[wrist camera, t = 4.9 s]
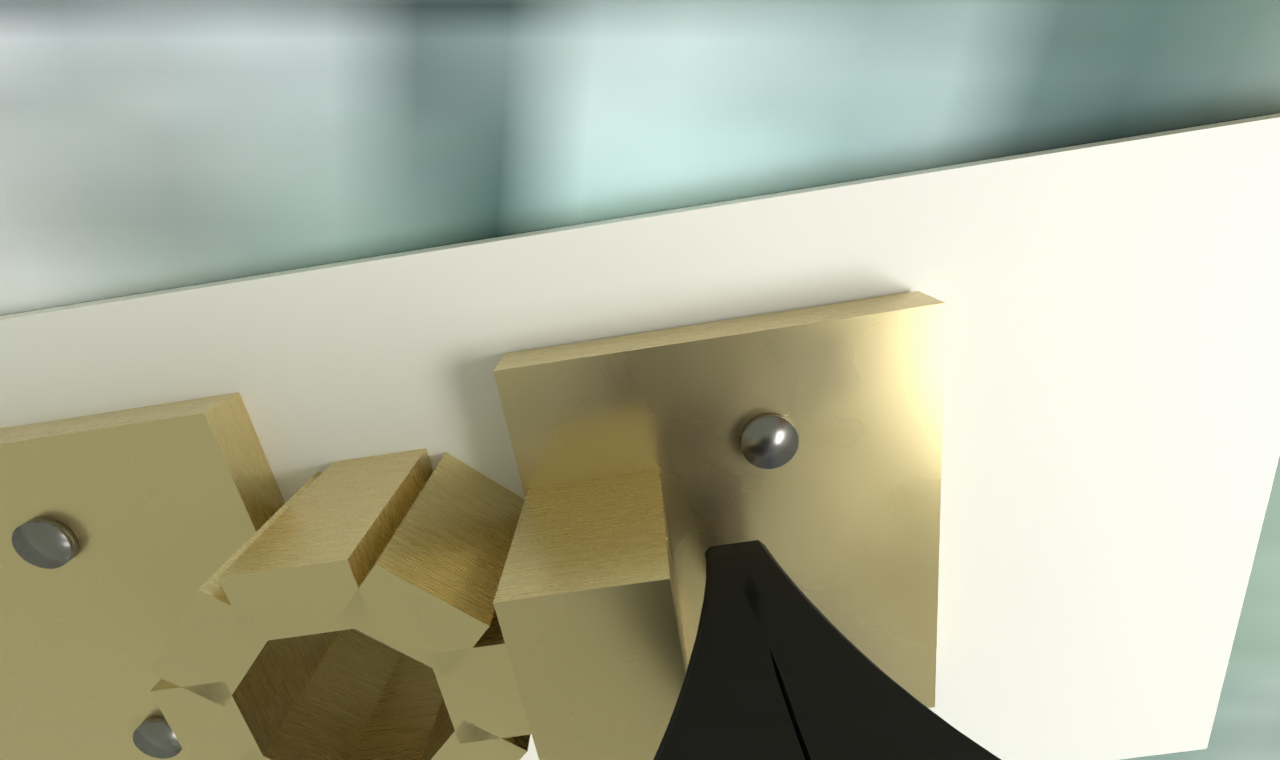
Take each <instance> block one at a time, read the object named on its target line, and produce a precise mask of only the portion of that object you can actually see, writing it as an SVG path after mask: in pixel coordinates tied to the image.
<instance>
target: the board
mask: <svg viewBox="0 0 1280 760" xmlns="http://www.w3.org/2000/svg"><path fill="white" fill-rule="evenodd" d="M913 291H920V292H922V293H924V294H927V295H929V296H931V297H934V298H936V299H938V300H940V301H943V302H945V303H946V325H945V361H944V397H943V433H942V469H941V506H940V542H939V578H938V614H937V650H936V686H935V707H932V708H929V709H930V710H932V711H933V712H934V713H935V714H937V715H938V716H939V717H941V718H942V719H943V720H945V721H946V722H947V723H949V724H950V725H951V726H953V727H954V728H955V729H957V730H958V731H960V732H961V733H963V734H964V735H966V736H967V737H968V738H970V739H971V740H973V741H974V742H976V743H977V744H979V745H980V746H982V747H983V748H985V749H986V750H988V751H989V752H991V753H992V754H994V755H995V756H997V757H998V758H999V759H1001V760H1119V759H1127V758H1135V757H1143V756H1151V755H1159V754H1167V753H1175V752H1183V751H1192V750H1200V749H1207V746H1208V742H1209V738H1210V734H1211V730H1212V726H1213V722H1214V718H1215V714H1216V710H1217V706H1218V702H1219V698H1220V694H1221V690H1222V686H1223V681H1224V677H1225V673H1226V669H1227V665H1228V661H1229V657H1230V653H1231V649H1232V645H1233V641H1234V637H1235V633H1236V629H1237V625H1238V621H1239V617H1240V613H1241V609H1242V605H1243V601H1244V597H1245V593H1246V589H1247V585H1248V581H1249V577H1250V573H1251V569H1252V565H1253V561H1254V557H1255V553H1256V549H1257V545H1258V540H1259V536H1260V532H1261V528H1262V524H1263V520H1264V516H1265V512H1266V508H1267V504H1268V500H1269V496H1270V492H1271V488H1272V484H1273V480H1274V476H1275V472H1276V468H1277V464H1278V460H1279V456H1280V113H1278V114H1272V115H1266V116H1259V117H1253V118H1247V119H1240V120H1234V121H1228V122H1221V123H1215V124H1209V125H1202V126H1196V127H1190V128H1184V129H1177V130H1171V131H1165V132H1158V133H1152V134H1146V135H1139V136H1133V137H1127V138H1120V139H1114V140H1108V141H1102V142H1095V143H1089V144H1083V145H1076V146H1070V147H1064V148H1057V149H1051V150H1045V151H1038V152H1032V153H1026V154H1019V155H1013V156H1007V157H1001V158H994V159H988V160H982V161H975V162H969V163H963V164H956V165H950V166H944V167H937V168H931V169H925V170H918V171H912V172H906V173H900V174H893V175H887V176H881V177H874V178H868V179H862V180H855V181H849V182H843V183H836V184H830V185H824V186H818V187H811V188H805V189H799V190H792V191H786V192H780V193H773V194H767V195H761V196H754V197H748V198H742V199H735V200H729V201H723V202H717V203H710V204H704V205H698V206H691V207H685V208H679V209H672V210H666V211H660V212H653V213H647V214H641V215H634V216H628V217H622V218H616V219H609V220H603V221H597V222H590V223H584V224H578V225H571V226H565V227H559V228H552V229H546V230H540V231H534V232H527V233H521V234H515V235H508V236H502V237H496V238H489V239H483V240H477V241H470V242H464V243H458V244H451V245H445V246H439V247H433V248H426V249H420V250H414V251H407V252H401V253H395V254H388V255H382V256H376V257H369V258H363V259H357V260H351V261H344V262H338V263H332V264H325V265H319V266H313V267H306V268H300V269H294V270H287V271H281V272H275V273H268V274H262V275H256V276H250V277H243V278H237V279H231V280H224V281H218V282H212V283H205V284H199V285H193V286H186V287H180V288H174V289H167V290H161V291H155V292H149V293H142V294H136V295H130V296H123V297H117V298H111V299H104V300H98V301H92V302H85V303H79V304H73V305H67V306H60V307H54V308H48V309H41V310H35V311H29V312H22V313H16V314H10V315H3V316H0V429H1V428H7V427H14V426H20V425H27V424H34V423H40V422H47V421H53V420H60V419H66V418H73V417H80V416H86V415H93V414H99V413H106V412H113V411H119V410H126V409H132V408H139V407H146V406H152V405H159V404H165V403H172V402H179V401H185V400H192V399H198V398H205V397H211V396H218V395H225V394H231V393H238V392H239V393H240V395H241V398H242V400H243V402H244V405H245V407H246V410H247V412H248V414H249V417H250V419H251V422H252V424H253V427H254V429H255V431H256V434H257V436H258V439H259V441H260V443H261V446H262V448H263V451H264V453H265V456H266V458H267V460H268V463H269V465H270V468H271V470H272V472H273V475H274V477H275V480H276V482H277V485H278V487H279V489H280V492H281V494H282V497H283V499H284V501H285V503H286V502H287V501H288V500H289V499H290V498H291V497H292V496H293V495H294V494H295V493H296V492H297V491H298V490H299V489H300V488H301V487H302V486H303V485H304V484H305V483H306V482H307V481H308V480H309V479H310V478H311V477H312V476H313V475H314V474H315V473H316V472H317V471H319V472H320V473H322V472H323V471H324V470H325V469H326V468H327V467H328V466H329V465H330V464H331V463H332V462H336V461H343V460H349V459H356V458H363V457H370V456H377V455H384V454H390V453H397V452H404V451H411V450H418V449H424V448H426V449H427V452H428V455H429V458H430V462H431V465H432V468H433V470H434V469H435V467H436V466H437V465H438V463H439V462H440V460H441V459H442V457H443V456H444V455H445V453H448V454H450V455H451V456H453V457H455V458H456V459H458V460H460V461H461V462H463V463H465V464H466V465H468V466H470V467H471V468H473V469H475V470H476V471H478V472H480V473H481V474H483V475H485V476H486V477H488V478H490V479H491V480H493V481H495V482H497V483H498V484H500V485H502V486H503V487H505V488H507V489H508V490H510V491H512V492H513V493H515V494H517V495H518V496H520V497H522V498H523V499H525V495H524V491H523V487H522V483H521V479H520V475H519V471H518V467H517V463H516V459H515V455H514V451H513V447H512V443H511V439H510V435H509V431H508V427H507V423H506V419H505V415H504V411H503V407H502V403H501V399H500V395H499V391H498V387H497V384H496V380H495V376H494V372H493V371H494V370H495V368H496V366H497V365H498V363H499V362H500V360H501V359H502V357H503V356H504V354H505V353H511V352H518V351H524V350H531V349H537V348H544V347H551V346H557V345H564V344H570V343H577V342H584V341H590V340H597V339H603V338H610V337H617V336H623V335H630V334H636V333H643V332H650V331H656V330H663V329H669V328H676V327H683V326H689V325H696V324H702V323H709V322H715V321H722V320H729V319H735V318H742V317H748V316H755V315H762V314H768V313H775V312H781V311H788V310H795V309H801V308H808V307H814V306H821V305H828V304H834V303H841V302H847V301H854V300H861V299H867V298H874V297H880V296H887V295H894V294H900V293H907V292H913ZM520 760H539V758H538V754H537V751H536V747H535V744H534V740H533V737H532V734H531V735H530V739H529V745H528V751H527V752H526V753H525V755H524V756H523V757H522V758H521V759H520Z"/></svg>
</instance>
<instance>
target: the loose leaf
mask: <svg viewBox="0 0 1280 760" xmlns="http://www.w3.org/2000/svg"><path fill="white" fill-rule="evenodd" d="M945 325H946V303H945V302H943V301H940V300H938V299H936V298H934V297H931V296H929V295H927V294H924V293H922V292H920V291H913V292H907V293H900V294H894V295H887V296H880V297H874V298H867V299H861V300H854V301H847V302H841V303H834V304H828V305H821V306H814V307H808V308H801V309H795V310H788V311H781V312H775V313H768V314H762V315H755V316H748V317H742V318H735V319H729V320H722V321H715V322H709V323H702V324H696V325H689V326H683V327H676V328H669V329H663V330H656V331H650V332H643V333H636V334H630V335H623V336H617V337H610V338H603V339H597V340H590V341H584V342H577V343H570V344H564V345H557V346H551V347H544V348H537V349H531V350H524V351H518V352H511V353H505V354H504V356H503V357H502V359H501V360H500V362H499V363H498V365H497V366H496V368H495V370H494V371H493V372H494V376H495V380H496V384H497V387H498V391H499V395H500V399H501V403H502V407H503V411H504V415H505V419H506V423H507V427H508V431H509V435H510V439H511V443H512V447H513V451H514V455H515V459H516V463H517V467H518V471H519V475H520V479H521V483H522V487H523V491H524V495H525V501H524V504H523V507H522V511H521V514H520V517H519V520H518V524H517V527H516V530H515V533H514V537H513V540H512V543H511V547H510V550H509V553H508V556H507V560H506V563H505V566H504V569H503V573H502V576H501V579H500V582H499V586H498V589H497V592H496V595H495V599H494V602H493V604H494V608H495V611H496V614H497V618H498V621H499V625H500V628H501V632H502V635H503V638H504V642H505V645H506V649H507V652H508V655H509V659H510V662H511V666H512V669H513V672H514V676H515V679H516V683H517V686H518V689H519V693H520V696H521V700H522V703H523V706H524V710H525V713H526V717H527V720H528V723H529V727H530V730H531V734H532V737H533V740H534V744H535V747H536V751H537V754H538V758H539V760H653V759H654V757H655V755H656V752H657V750H658V748H659V745H660V743H661V741H662V738H663V736H664V734H665V731H666V729H667V726H668V724H669V721H670V718H671V716H672V713H673V710H674V708H675V705H676V702H677V699H678V696H679V694H680V691H681V688H682V684H683V681H684V678H685V675H686V671H687V668H688V664H689V661H690V657H691V653H692V650H693V646H694V643H695V639H696V635H697V630H698V625H699V620H700V615H701V610H702V605H703V599H704V591H705V583H706V558H705V552H706V551H707V550H708V549H709V548H710V547H711V546H718V545H725V544H732V543H739V542H747V541H754V540H759V541H760V542H762V543H763V544H764V545H765V546H766V547H767V549H768V550H769V552H770V553H771V554H772V556H773V557H774V558H775V560H776V561H777V562H778V564H779V565H780V566H781V567H782V569H783V570H784V571H785V572H786V574H787V575H788V576H789V577H790V578H791V579H792V581H793V582H794V583H795V584H796V585H797V587H798V588H799V589H800V590H801V591H802V592H803V593H804V594H805V596H806V597H807V598H808V599H809V600H810V601H811V602H812V603H813V604H814V605H815V606H816V607H817V608H818V609H819V610H820V612H821V613H822V614H823V615H824V616H825V617H826V618H827V619H828V620H829V621H830V622H831V623H832V624H833V625H834V626H835V627H836V628H837V629H838V630H839V631H840V632H841V633H842V634H843V635H844V636H845V637H846V638H847V639H848V640H849V641H850V642H851V643H852V644H854V645H855V646H856V647H857V648H858V649H859V650H860V651H861V652H862V653H863V654H864V655H865V656H866V657H867V658H869V659H870V660H871V661H872V662H873V663H874V664H875V665H876V666H878V667H879V668H880V669H881V670H882V671H883V672H884V673H886V674H887V675H888V676H889V677H890V678H891V679H893V680H894V681H895V682H896V683H897V684H899V685H900V686H901V687H902V688H904V689H905V690H906V691H907V692H909V693H910V694H911V695H912V696H913V697H915V698H916V699H917V700H918V701H920V702H921V703H922V704H924V705H925V706H926V707H928V708H932V707H935V686H936V650H937V614H938V578H939V542H940V506H941V469H942V433H943V397H944V361H945Z"/></svg>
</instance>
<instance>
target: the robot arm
mask: <svg viewBox="0 0 1280 760" xmlns="http://www.w3.org/2000/svg"><path fill="white" fill-rule="evenodd" d="M705 558H706V583H705V591H704V599H703V605H702V610H701V615H700V620H699V625H698V630H697V635H696V639H695V643H694V646H693V650H692V653H691V657H690V661H689V664H688V668H687V671H686V675H685V678H684V681H683V684H682V688H681V691H680V694H679V696H678V699H677V702H676V705H675V708H674V710H673V713H672V716H671V718H670V721H669V724H668V726H667V729H666V731H665V734H664V736H663V738H662V741H661V743H660V745H659V748H658V750H657V752H656V755H655V757H654V759H653V760H1001V759H999V758H998V757H997V756H995V755H994V754H992V753H991V752H989V751H988V750H986V749H985V748H983V747H982V746H980V745H979V744H977V743H976V742H974V741H973V740H971V739H970V738H968V737H967V736H966V735H964V734H963V733H961V732H960V731H958V730H957V729H955V728H954V727H953V726H951V725H950V724H949V723H947V722H946V721H945V720H943V719H942V718H941V717H939V716H938V715H937V714H935V713H934V712H933V711H932V710H930V709H929V708H928V707H926V706H925V705H924V704H922V703H921V702H920V701H918V700H917V699H916V698H915V697H913V696H912V695H911V694H910V693H909V692H907V691H906V690H905V689H904V688H902V687H901V686H900V685H899V684H897V683H896V682H895V681H894V680H893V679H891V678H890V677H889V676H888V675H887V674H886V673H884V672H883V671H882V670H881V669H880V668H879V667H878V666H876V665H875V664H874V663H873V662H872V661H871V660H870V659H869V658H867V657H866V656H865V655H864V654H863V653H862V652H861V651H860V650H859V649H858V648H857V647H856V646H855V645H854V644H852V643H851V642H850V641H849V640H848V639H847V638H846V637H845V636H844V635H843V634H842V633H841V632H840V631H839V630H838V629H837V628H836V627H835V626H834V625H833V624H832V623H831V622H830V621H829V620H828V619H827V618H826V617H825V616H824V615H823V614H822V613H821V612H820V610H819V609H818V608H817V607H816V606H815V605H814V604H813V603H812V602H811V601H810V600H809V599H808V598H807V597H806V596H805V594H804V593H803V592H802V591H801V590H800V589H799V588H798V587H797V585H796V584H795V583H794V582H793V581H792V579H791V578H790V577H789V576H788V575H787V574H786V572H785V571H784V570H783V569H782V567H781V566H780V565H779V564H778V562H777V561H776V560H775V558H774V557H773V556H772V554H771V553H770V552H769V550H768V549H767V547H766V546H765V545H764V544H763V543H762V542H760V541H759V540H754V541H747V542H739V543H732V544H725V545H718V546H711V547H710V548H709V549H708V550H707V551H706V552H705Z"/></svg>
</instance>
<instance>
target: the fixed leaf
mask: <svg viewBox="0 0 1280 760" xmlns="http://www.w3.org/2000/svg"><path fill="white" fill-rule="evenodd" d="M524 501H525V499H523V498H522V497H520V496H518V495H517V494H515V493H513V492H512V491H510V490H508V489H507V488H505V487H503V486H502V485H500V484H498V483H497V482H495V481H493V480H491V479H490V478H488V477H486V476H485V475H483V474H481V473H480V472H478V471H476V470H475V469H473V468H471V467H470V466H468V465H466V464H465V463H463V462H461V461H460V460H458V459H456V458H455V457H453V456H451V455H450V454H448V453H445V455H444V456H443V457H442V459H441V460H440V462H439V463H438V465H437V466H436V467H435V469H434V470H433V468H432V465H431V462H430V458H429V455H428V452H427V449H426V448H424V449H418V450H411V451H404V452H397V453H390V454H384V455H377V456H370V457H363V458H356V459H349V460H343V461H336V462H332V463H331V464H330V465H329V466H328V467H327V468H326V469H325V470H324V471H323V472H322V473H320V472H319V471H317V472H316V473H315V474H314V475H313V476H312V477H311V478H310V479H309V480H308V481H307V482H306V483H305V484H304V485H303V486H302V487H301V488H300V489H299V490H298V491H297V492H296V493H295V494H294V495H293V496H292V497H291V498H290V499H289V500H288V501H287V502H286V503H285V501H284V499H283V497H282V494H281V492H280V489H279V487H278V485H277V482H276V480H275V477H274V475H273V472H272V470H271V468H270V465H269V463H268V460H267V458H266V456H265V453H264V451H263V448H262V446H261V443H260V441H259V439H258V436H257V434H256V431H255V429H254V427H253V424H252V422H251V419H250V417H249V414H248V412H247V410H246V407H245V405H244V402H243V400H242V398H241V395H240V393H239V392H238V393H231V394H225V395H218V396H211V397H205V398H198V399H192V400H185V401H179V402H172V403H165V404H159V405H152V406H146V407H139V408H132V409H126V410H119V411H113V412H106V413H99V414H93V415H86V416H80V417H73V418H66V419H60V420H53V421H47V422H40V423H34V424H27V425H20V426H14V427H7V428H1V429H0V760H520V759H521V758H522V757H523V756H524V755H525V753H526V752H527V751H528V745H529V739H530V735H531V730H530V727H529V723H528V720H527V717H526V713H525V710H524V706H523V703H522V700H521V696H520V693H519V689H518V686H517V683H516V679H515V676H514V672H513V669H512V666H511V662H510V659H509V655H508V652H507V649H506V645H505V642H504V638H503V635H502V632H501V628H500V625H499V621H498V618H497V614H496V611H495V608H494V604H493V602H494V599H495V595H496V592H497V589H498V586H499V582H500V579H501V576H502V573H503V569H504V566H505V563H506V560H507V556H508V553H509V550H510V547H511V543H512V540H513V537H514V533H515V530H516V527H517V524H518V520H519V517H520V514H521V511H522V507H523V504H524Z"/></svg>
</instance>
